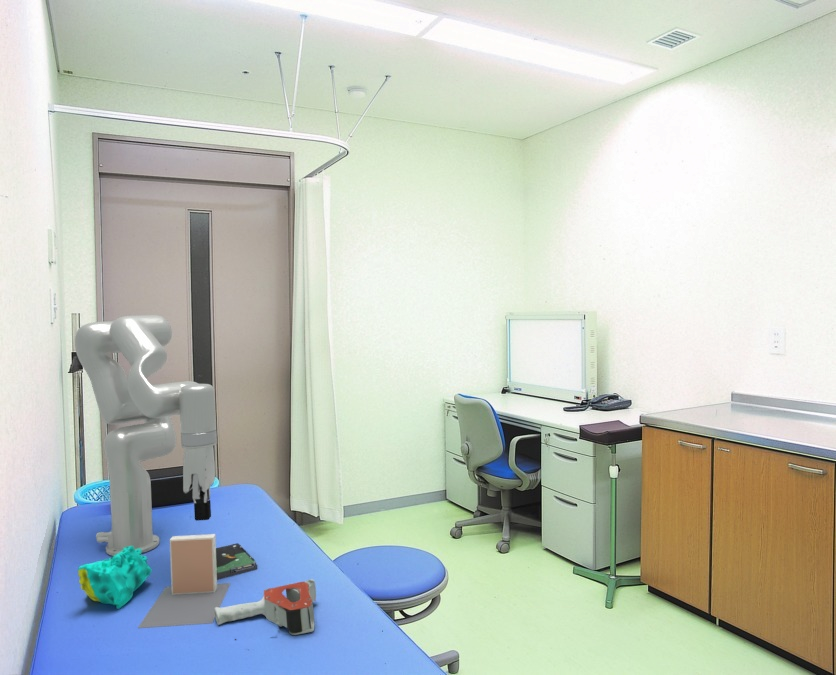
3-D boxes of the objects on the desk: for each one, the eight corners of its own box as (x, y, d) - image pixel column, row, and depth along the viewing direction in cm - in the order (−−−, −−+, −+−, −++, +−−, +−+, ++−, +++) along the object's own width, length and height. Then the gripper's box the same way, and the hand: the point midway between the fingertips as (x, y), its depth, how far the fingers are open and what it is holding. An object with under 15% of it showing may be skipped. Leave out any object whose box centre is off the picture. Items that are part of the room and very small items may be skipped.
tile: (171, 595, 128) (169, 540, 127) (174, 590, 130) (172, 536, 129) (214, 592, 129) (213, 537, 128) (217, 587, 131) (215, 534, 130)
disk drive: (196, 563, 146) (214, 585, 134) (196, 552, 146) (213, 573, 134) (238, 553, 152) (258, 573, 140) (238, 542, 152) (258, 561, 140)
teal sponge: (61, 567, 128) (118, 524, 136) (94, 609, 130) (148, 565, 139) (75, 577, 117) (136, 530, 125) (111, 623, 119) (169, 574, 127)
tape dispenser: (207, 631, 117) (281, 655, 106) (204, 604, 117) (278, 627, 106) (273, 590, 132) (344, 608, 121) (271, 566, 131) (341, 582, 121)
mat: (137, 631, 115) (137, 628, 115) (165, 589, 132) (165, 586, 132) (212, 626, 116) (212, 623, 116) (230, 585, 133) (230, 582, 133)
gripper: (191, 433, 142) (194, 509, 143) (171, 447, 127) (176, 532, 128) (223, 431, 143) (227, 507, 144) (208, 445, 128) (212, 529, 129)
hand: (203, 518), depth 136 cm, fingers closed
